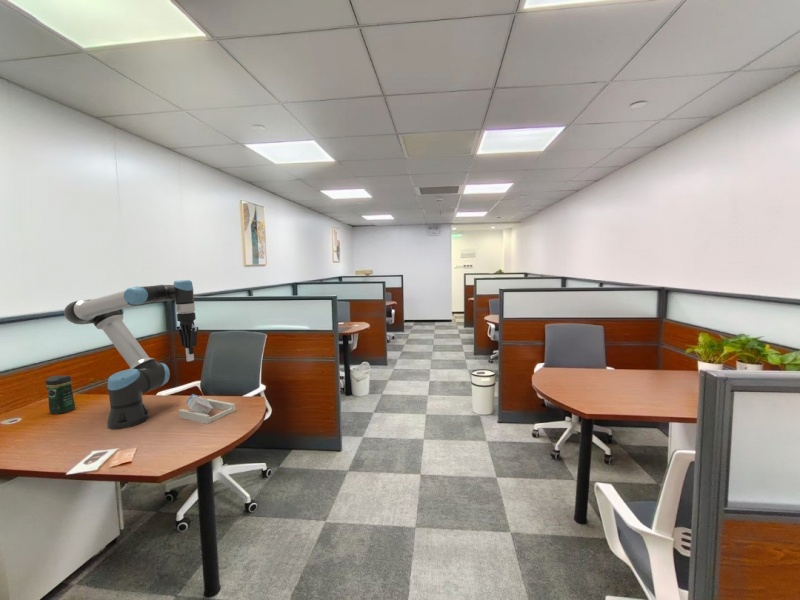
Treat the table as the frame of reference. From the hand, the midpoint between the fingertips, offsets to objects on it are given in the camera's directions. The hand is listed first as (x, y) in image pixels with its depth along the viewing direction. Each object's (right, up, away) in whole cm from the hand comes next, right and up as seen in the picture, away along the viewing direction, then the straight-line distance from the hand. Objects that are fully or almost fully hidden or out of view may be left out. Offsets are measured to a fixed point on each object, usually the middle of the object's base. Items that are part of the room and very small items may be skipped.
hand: (190, 360), depth 165 cm
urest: (+9, -26, -1) cm, 27 cm away
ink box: (+1, -21, +4) cm, 22 cm away
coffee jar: (-70, -28, +8) cm, 76 cm away
